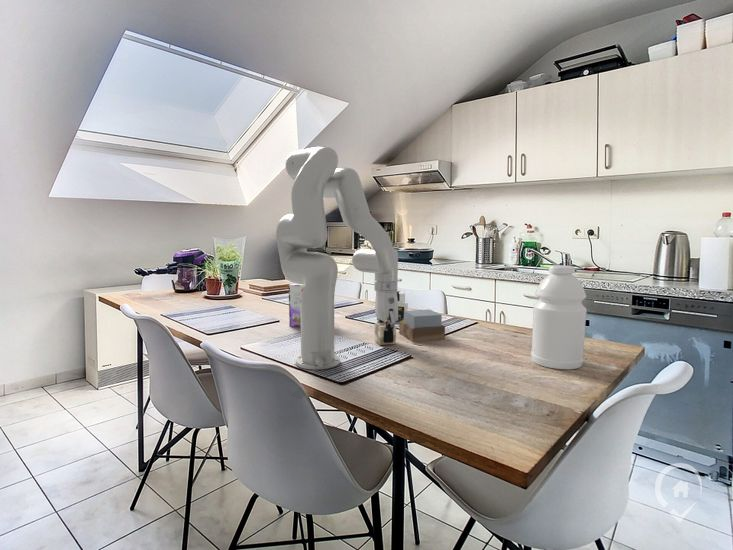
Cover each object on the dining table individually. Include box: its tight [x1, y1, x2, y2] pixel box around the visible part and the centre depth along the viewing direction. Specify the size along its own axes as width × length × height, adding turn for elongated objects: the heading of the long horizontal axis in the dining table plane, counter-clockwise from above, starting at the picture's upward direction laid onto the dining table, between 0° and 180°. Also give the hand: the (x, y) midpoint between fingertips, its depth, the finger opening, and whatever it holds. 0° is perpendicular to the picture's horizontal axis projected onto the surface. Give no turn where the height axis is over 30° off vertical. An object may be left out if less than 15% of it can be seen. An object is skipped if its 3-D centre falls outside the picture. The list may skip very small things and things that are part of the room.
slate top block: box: [404, 308, 443, 328], centre depth 155 cm, size 10×10×4 cm
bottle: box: [530, 264, 588, 370], centre depth 127 cm, size 14×14×28 cm
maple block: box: [374, 322, 397, 346], centre depth 148 cm, size 6×6×6 cm
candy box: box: [288, 282, 305, 328], centre depth 171 cm, size 14×6×16 cm, turn 84°
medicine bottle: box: [387, 290, 409, 324], centre depth 180 cm, size 7×7×12 cm
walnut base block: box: [398, 321, 446, 343], centre depth 156 cm, size 12×12×5 cm
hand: (385, 339), depth 148 cm, fingers closed on maple block, 5 cm apart
